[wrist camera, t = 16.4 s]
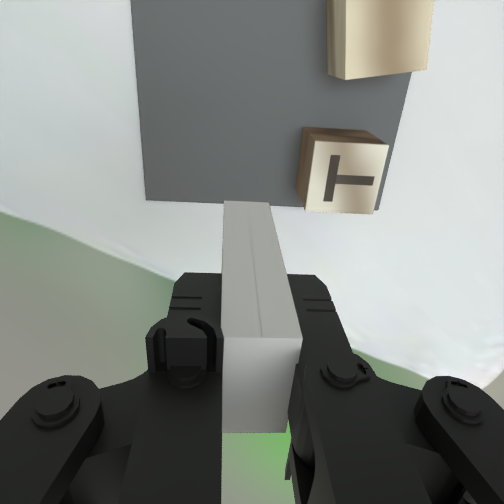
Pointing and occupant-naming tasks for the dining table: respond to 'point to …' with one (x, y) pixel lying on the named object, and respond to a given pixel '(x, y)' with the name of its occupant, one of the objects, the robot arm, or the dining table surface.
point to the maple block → (377, 37)
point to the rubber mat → (244, 97)
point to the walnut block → (340, 170)
